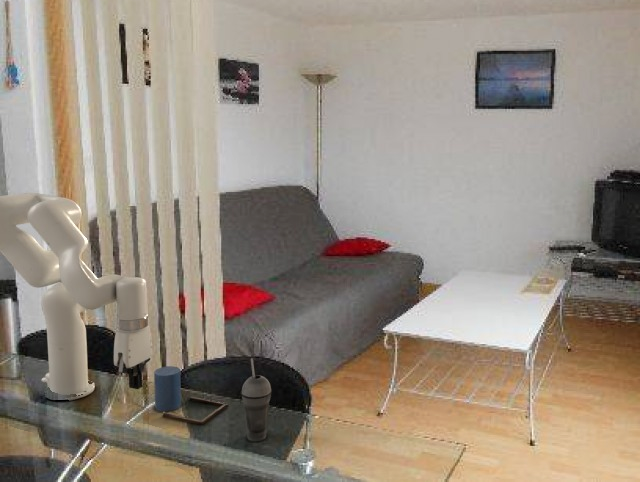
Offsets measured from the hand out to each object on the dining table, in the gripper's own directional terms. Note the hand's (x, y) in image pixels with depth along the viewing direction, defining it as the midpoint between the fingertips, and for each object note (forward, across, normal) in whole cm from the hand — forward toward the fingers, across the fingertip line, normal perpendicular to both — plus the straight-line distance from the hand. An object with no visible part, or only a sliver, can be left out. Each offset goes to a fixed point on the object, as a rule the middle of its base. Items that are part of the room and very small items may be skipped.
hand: (135, 387), depth 167 cm
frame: (+4, 0, +20) cm, 20 cm away
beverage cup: (+4, +6, +42) cm, 42 cm away
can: (+4, 0, +11) cm, 11 cm away
